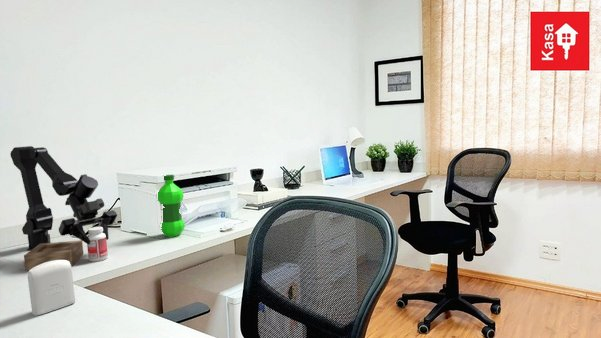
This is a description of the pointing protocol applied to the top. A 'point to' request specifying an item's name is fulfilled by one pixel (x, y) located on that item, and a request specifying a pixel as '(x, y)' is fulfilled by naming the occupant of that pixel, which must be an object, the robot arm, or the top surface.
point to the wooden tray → (54, 253)
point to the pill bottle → (97, 244)
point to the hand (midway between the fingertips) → (98, 241)
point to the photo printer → (51, 286)
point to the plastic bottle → (171, 207)
